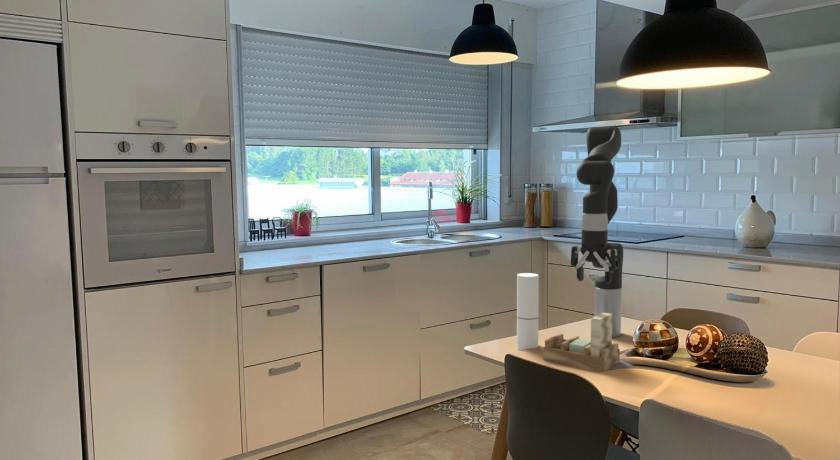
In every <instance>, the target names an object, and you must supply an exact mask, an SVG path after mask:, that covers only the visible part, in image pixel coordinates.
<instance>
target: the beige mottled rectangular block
mask: <svg viewBox="0 0 840 460" xmlns="http://www.w3.org/2000/svg"><path fill="white" fill-rule="evenodd" d="M590 341H591V355H592V356H597V357H601V350H603V349H605V348H607V347H608V346H610V345H612V344H613V337H612V314H610V313H602V314H599V315H597V316H595V315H594V316H593V317H591V318H590Z"/></svg>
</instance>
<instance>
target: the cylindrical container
mask: <svg viewBox="0 0 840 460" xmlns="http://www.w3.org/2000/svg"><path fill="white" fill-rule="evenodd" d="M516 274H517V275H516V349H517V351H521V350H522V351H523V352H524V351H525V350H527V349H530V350H531V349H536V348H538V347H539V316H540V315H539V312H540V311H539V304H540V303H539V299H540V298H539V294H540V292H539V291H540V289H539V285H540V282H539V281H540V280H539V278H540V277H539V274H537V273H534V272H533V273H532V272H523V273H522V272H521V273H516Z"/></svg>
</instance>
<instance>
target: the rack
mask: <svg viewBox="0 0 840 460" xmlns="http://www.w3.org/2000/svg"><path fill="white" fill-rule="evenodd" d="M577 339H580V336H577V335H576V336H573V337H572V338H568V339H565V338H564V333H561V332H559V333H558V334H556V335H553V336H551V337H549V338H546V339H545V340H544V346H543V351H542V352H543V353H542V356H543V358H542V360H543V361H546V362H550V363H556V364H562V365H564V366H565V365H566V366H569V367H571V366H572V367H576V368H581V369H586V370H589V371H590V370H591V371H595V372H600V373H603V372H605V371H606V370H608V369H611V367H614V366H615V365H616V364H618V363H620V354H621V352H620V351H621V349H620V348H619V342H614V343H612V345H610V346H608V347H607V348H605V349H603V350H601V357H597V356H592V355H591V344H590V345H588V346H586V347H584V354H581V353H576V352H571V351H569V344H570V343H572V342H573V341H575V340H577Z"/></svg>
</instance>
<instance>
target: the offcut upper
mask: <svg viewBox="0 0 840 460" xmlns="http://www.w3.org/2000/svg"><path fill="white" fill-rule="evenodd" d="M590 344H591V340H589V339H588V340H587V339H582V338H579V339H577V340H575V341H573V342H572V343H570V344H569V351H571V352H576V353H581V354H584V347H586V346H588V345H590Z"/></svg>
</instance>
